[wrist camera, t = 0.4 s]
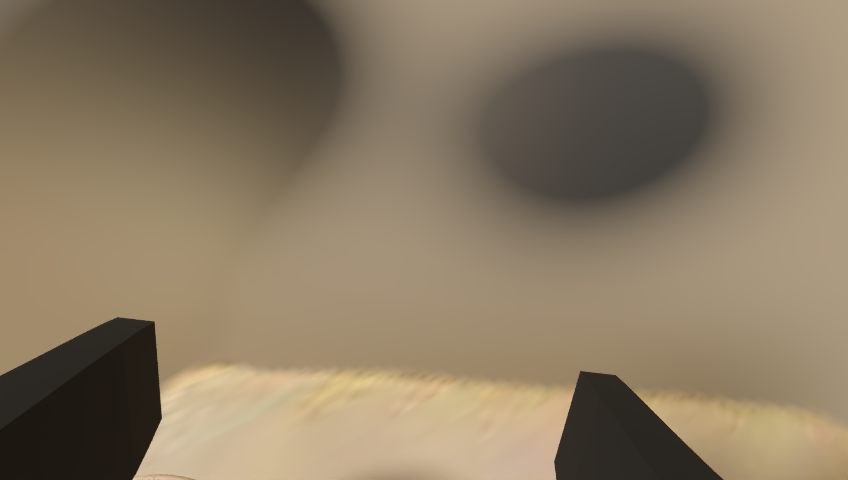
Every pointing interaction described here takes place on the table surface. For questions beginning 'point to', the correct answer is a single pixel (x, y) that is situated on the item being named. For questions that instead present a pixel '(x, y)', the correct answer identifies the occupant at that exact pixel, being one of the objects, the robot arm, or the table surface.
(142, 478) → the teacup with lid
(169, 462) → the table surface
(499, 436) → the table surface
